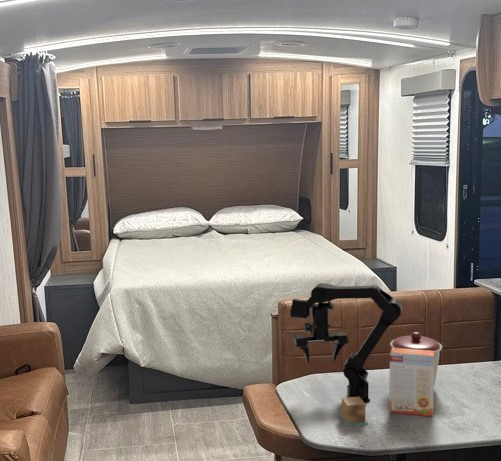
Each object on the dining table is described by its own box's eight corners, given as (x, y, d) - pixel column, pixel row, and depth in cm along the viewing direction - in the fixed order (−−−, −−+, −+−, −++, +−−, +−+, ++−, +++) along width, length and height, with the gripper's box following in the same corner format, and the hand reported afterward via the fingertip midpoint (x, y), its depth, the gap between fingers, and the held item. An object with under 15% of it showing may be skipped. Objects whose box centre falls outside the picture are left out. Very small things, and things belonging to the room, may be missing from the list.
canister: (392, 397, 220) (393, 339, 217) (387, 378, 238) (388, 324, 235) (445, 399, 218) (446, 340, 215) (436, 379, 235) (437, 325, 232)
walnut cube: (359, 413, 206) (359, 396, 205) (365, 421, 200) (365, 404, 199) (341, 415, 205) (341, 398, 204) (347, 423, 199) (347, 405, 198)
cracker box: (433, 410, 209) (435, 350, 206) (432, 417, 204) (434, 356, 201) (390, 405, 214) (391, 346, 211) (388, 412, 208) (389, 352, 205)
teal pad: (360, 414, 207) (360, 412, 207) (367, 424, 200) (367, 422, 200) (339, 416, 206) (339, 414, 206) (345, 426, 199) (345, 424, 199)
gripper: (339, 312, 229) (339, 353, 231) (289, 315, 226) (290, 356, 228) (348, 320, 218) (348, 363, 220) (296, 324, 215) (296, 367, 217)
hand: (320, 362), depth 222 cm, fingers open, 9 cm apart
